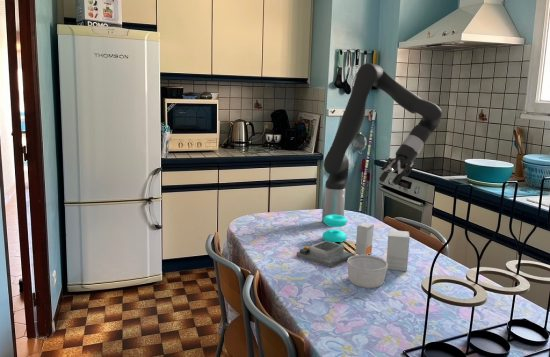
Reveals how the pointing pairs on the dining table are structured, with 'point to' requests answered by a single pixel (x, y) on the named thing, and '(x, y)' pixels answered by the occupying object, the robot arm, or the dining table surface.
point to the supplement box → (398, 250)
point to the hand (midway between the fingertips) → (387, 182)
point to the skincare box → (364, 238)
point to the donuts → (335, 222)
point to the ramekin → (366, 270)
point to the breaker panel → (325, 253)
